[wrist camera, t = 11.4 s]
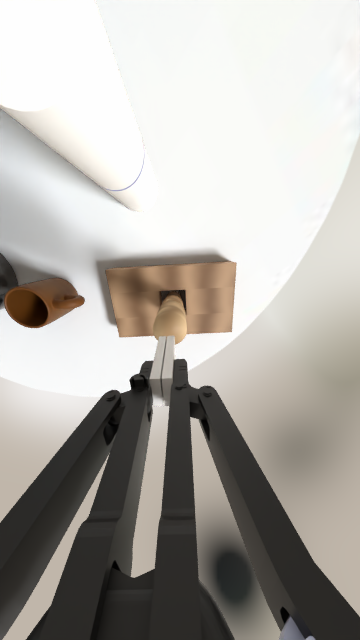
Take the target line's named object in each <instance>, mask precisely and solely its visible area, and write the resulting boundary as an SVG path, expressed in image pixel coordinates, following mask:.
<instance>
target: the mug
mask: <svg viewBox="0 0 360 640" xmlns="http://www.w3.org/2000/svg"><path fill="white" fill-rule="evenodd" d="M84 302H85V299H84V297H82V296H80V295H78V293H77V291H76V289H75V288H74V287H73V285H71V284H70V283H69V282H67V281H66V280H63V279H60V278H51V279H46V280H41V281H36V282H32V283H28V284H24V285H20V286H18V287H14V288H12V289H10V290H9V291H8V292H7V293H6V295H5V297H4V305H5V309H6V311H7V313H8V314H9V315H10V317H11V318H12V319H13V320H14V321H16V322H17V323H19V324H20V325H23V326H25V327H29V328H40V327H43V326H45V325H47V324H49V323H51V322H53V321H55V320H57V319H58V318H60V317H62V316H64V315H65V314H67V313H69V312H70V311H72V310H73V309H74V308H77V307H80V306H81V305H83V304H84Z"/></svg>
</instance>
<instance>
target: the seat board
mask: <svg viewBox="0 0 360 640" xmlns="http://www.w3.org/2000/svg"><path fill="white" fill-rule="evenodd" d="M105 271H106V276H107V281H108V285H109V290H110V295H111V300H112V304H113V309H114V314H115V318H116V323H117V328H118V332H119V337H138V336H154V334H153V324H154V321H155V318H156V315H157V313H158V310H159V308H160V306H161V305H162V295H161V291H168V290H185V297H186V309H185V313H186V324H187V333H186V334H200V333H220V332H232V320H233V306H234V291H235V277H236V263H235V262H231V261H226V262H208V263H190V264H172V265H155V266H137V267H119V268H111V269H107V270H105Z"/></svg>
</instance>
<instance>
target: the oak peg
mask: <svg viewBox="0 0 360 640" xmlns="http://www.w3.org/2000/svg"><path fill="white" fill-rule="evenodd" d="M186 333H187V324H186V313H185V309H184V307H183V302H182V300H181V295H180V293H179V292H177V291H170V292H168V294H167V295H166V298H165V299H164V300H163V303H162V305H161V306H160V308H159V310H158V313H157V315H156V318H155V321H154V324H153V334H154V336H155V338H156V339H157V340H159V336H166V338H167V336H174V337H175V344H178V343H179V342H181V341H182V340H183V339H184V338H185V336H186Z"/></svg>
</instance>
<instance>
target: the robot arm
mask: <svg viewBox="0 0 360 640" xmlns="http://www.w3.org/2000/svg"><path fill="white" fill-rule="evenodd" d="M14 287H17V280H16V276H15V274H14V271H13V269H12V268H11V266H10V264H9V263H8V261H7V260H6V259H5V258H4V256H3V255H2V254H1V253H0V309H3V308H5V305H4V297H5V295H6V293H7V292H8V291H9V290H10V289H12V288H14ZM130 385H131V390H130V391H127V392H124V393H121V394H120V392H119V391H117V390H111V391H108V392H107V393H105V394H104V395H103V396H102V397H101V399H100V400H99V401H98V402H97V404H96V405H95V406H94V407H93V408H92V410H91V411H90V412H89V413H88V415H87V416H86V417H85V418H84V420H83V421H82V422H81V423H80V425H79V426H78V427H77V428H76V430H75V431H74V432H73V433H72V434H71V436H70V437H69V438H68V439H67V441H66V442H65V443H64V445H63V446H62V447H61V448H60V449H59V451H58V452H57V453H56V454H55V456H54V457H53V458H52V459H51V461H50V462H49V463H48V464H47V465H46V467H45V468H44V469H43V471H42V472H41V473H40V474H39V475H38V477H37V478H36V479H35V480H34V482H33V483H32V484H31V485H30V487H29V488H28V489H27V490H26V492H25V493H24V494H23V495H22V496H21V498H20V499H19V500H18V502H17V503H16V504H15V505H14V506H13V508H12V509H11V510H10V511H9V513H8V514H7V515H6V516H5V518H4V519H3V520H2V521H1V523H0V640H2V639H3V638H4V636H5V635H6V633H7V632H8V630H9V629H10V627H11V626H12V624H13V623H14V621H15V620H16V618H17V617H18V615H19V613H20V612H21V610H22V609H23V607H24V606H25V604H26V602H27V600H28V599H29V597H30V595H31V594H32V592H33V590H34V588H35V587H36V585H37V583H38V582H39V580H40V578H41V576H42V574H43V573H44V571H45V569H46V567H47V565H48V563H49V562H50V560H51V558H52V556H53V554H54V553H55V551H56V549H57V547H58V545H59V544H60V541H61V540H62V538H63V536H64V534H65V532H66V531H67V529H68V527H69V525H70V524H71V522H72V520H73V518H74V516H75V514H76V513H77V511H78V509H79V507H80V505H81V504H82V502H83V500H84V498H85V496H86V494H87V493H88V491H89V489H90V487H91V485H92V484H93V482H94V480H95V478H96V476H97V474H98V473H99V471H100V469H101V467H102V465H103V464H104V462H105V460H106V458H107V456H108V455H109V457H108V460H107V464H106V466H105V470H104V472H103V475H102V478H101V481H100V484H99V487H98V490H97V493H96V497H95V499H94V503H93V505H92V508H91V511H90V514H89V517H88V518H87V520H85V521H84V522H83V523H82V524H81V526H80V528H79V530H78V532H77V534H76V537H75V540H74V542H73V545H72V548H71V551H70V553H69V556H68V559H67V562H66V565H65V568H64V571H63V573H62V576H61V579H60V582H59V585H58V587H57V590H56V593H55V596H54V599H53V601H52V604H51V606H50V607H49V609H48V610H47V611H46V613H45V614H44V615H43V617H42V618H41V620H40V621H39V622H38V624H37V625H36V626H35V628H34V629H33V631H32V632H31V633H30V635H29V636H28V638H27V639H26V640H234V637H233V635H232V633H231V631H230V629H229V627H228V625H227V623H226V621H225V618H224V617H223V614H222V612H221V610H220V608H219V606H218V604H217V602H216V601H215V599H214V598H213V596H212V594H211V593H210V592H209V590H208V589H207V588H206V587H205V586H204V584H203V583H202V582H201V581H200V580H199V579H198V562H197V561H198V559H197V541H196V522H195V504H194V483H193V464H192V445H191V427H190V426H191V425H190V417H193V418H196V419H199V422H200V425H201V428H202V430H203V433H204V436H205V438H206V441H207V444H208V446H209V449H210V452H211V454H212V457H213V460H214V463H215V465H216V468H217V471H218V473H219V476H220V479H221V482H222V484H223V487H224V490H225V492H226V495H227V498H228V501H229V503H230V506H231V509H232V511H233V514H234V517H235V520H236V522H237V525H238V528H239V530H240V533H241V536H242V539H243V541H244V544H245V547H246V549H247V552H248V555H249V557H250V560H251V563H252V565H253V568H254V571H255V574H256V576H257V579H258V581H259V584H260V586H261V589H262V591H263V594H264V596H265V599H266V601H267V603H268V606H269V608H270V610H271V612H272V614H273V616H274V618H275V620H276V622H277V624H278V627H279V629H280V630H281V634H280V638H279V640H360V617H359V615H358V614H357V613H356V612H355V611H354V609H353V608H352V607H351V606H350V605H349V604H348V602H347V601H346V600H345V599H344V597H343V596H342V595H341V594H340V593H339V591H338V590H337V589H336V588H335V587H334V585H333V584H332V583H331V582H330V581H329V579H328V578H327V577H326V576H325V575H324V573H323V572H322V571H321V570H320V569H319V567H318V566H317V565H316V564H315V563H314V561H313V559H312V558H311V556H310V554H309V552H308V550H307V549H306V547H305V545H304V543H303V542H302V540H301V538H300V536H299V535H298V533H297V531H296V530H295V528H294V526H293V524H292V523H291V521H290V519H289V517H288V515H287V514H286V512H285V510H284V509H283V507H282V505H281V503H280V501H279V500H278V498H277V496H276V494H275V493H274V491H273V489H272V488H271V486H270V484H269V482H268V481H267V479H266V477H265V475H264V474H263V472H262V470H261V468H260V467H259V465H258V463H257V461H256V460H255V458H254V456H253V454H252V453H251V451H250V449H249V447H248V446H247V444H246V442H245V440H244V439H243V437H242V435H241V433H240V432H239V430H238V428H237V426H236V425H235V423H234V421H233V419H232V418H231V416H230V414H229V412H228V411H227V409H226V407H225V405H224V404H223V402H222V400H221V398H220V397H219V395H218V393H217V391H216V390H215V389H214V388H213V387H211V386H203V387H201V388H200V389H196V388H193V387H191V386H190V385H189V383H188V372H187V362H186V360H185V359H176V350H175V337H174V336H167V338H166V336H159V340H158V344H157V349H156V353H155V357H154V361H145V362H144V363H143V364H142V367H141V370H140V373H139V374H136V375H134V376H132V377H131V378H130ZM163 403H164V404H165V406H169V407H170V408H169V420H168V433H167V446H166V460H165V472H164V487H163V499H162V511H161V518H160V521H159V527H158V537H157V550H156V562H155V569H153V570H151V571H149V572H147V573H145V574H142V575H140V576H138V577H136V578H132V577H130V576H131V568H132V548H133V547H132V546H133V537H134V532H135V525H136V518H137V511H138V505H139V499H140V492H141V486H142V479H143V472H144V466H145V460H146V453H147V446H148V440H149V434H150V427H151V421H152V414H153V410H152V405H154V406H163ZM109 453H110V454H109Z"/></svg>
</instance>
